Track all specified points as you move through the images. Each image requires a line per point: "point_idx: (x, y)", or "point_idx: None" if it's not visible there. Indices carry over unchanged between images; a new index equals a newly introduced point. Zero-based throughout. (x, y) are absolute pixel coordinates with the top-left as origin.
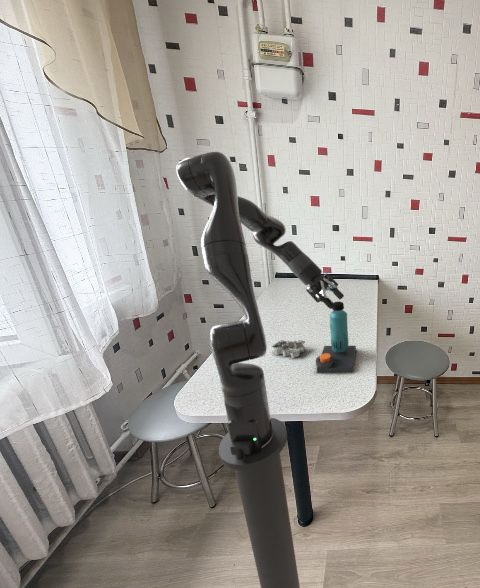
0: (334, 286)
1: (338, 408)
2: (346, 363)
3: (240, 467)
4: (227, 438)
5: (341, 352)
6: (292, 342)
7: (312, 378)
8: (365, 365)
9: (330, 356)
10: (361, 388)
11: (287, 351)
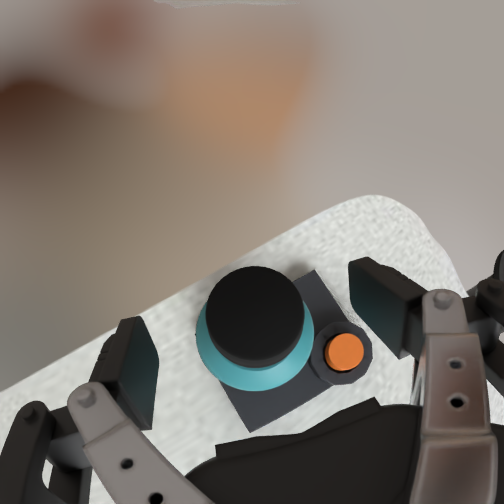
0: (106, 410)
1: (419, 227)
2: (305, 296)
3: None
4: None
5: None
6: None
7: (390, 350)
8: (262, 262)
9: (334, 338)
10: (349, 220)
11: None
